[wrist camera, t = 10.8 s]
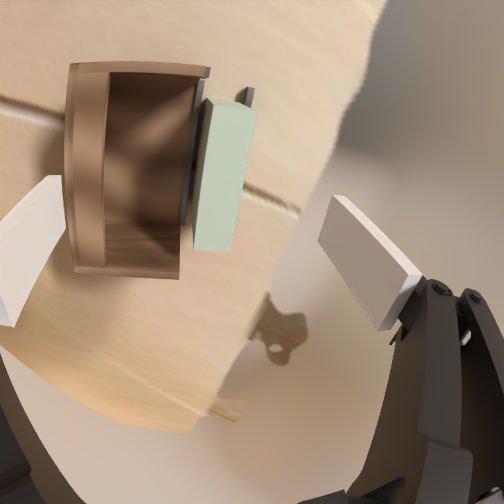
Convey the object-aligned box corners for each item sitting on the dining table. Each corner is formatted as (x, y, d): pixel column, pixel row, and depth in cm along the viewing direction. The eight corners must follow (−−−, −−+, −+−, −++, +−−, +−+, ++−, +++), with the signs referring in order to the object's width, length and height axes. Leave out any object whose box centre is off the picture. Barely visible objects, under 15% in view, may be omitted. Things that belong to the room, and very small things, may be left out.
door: (206, 97, 27) (213, 105, 19) (237, 101, 28) (257, 111, 20) (191, 202, 33) (193, 249, 25) (219, 205, 34) (230, 251, 26)
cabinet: (105, 66, 23) (70, 63, 15) (254, 79, 27) (281, 79, 19) (98, 222, 32) (74, 272, 24) (225, 230, 36) (238, 282, 28)
